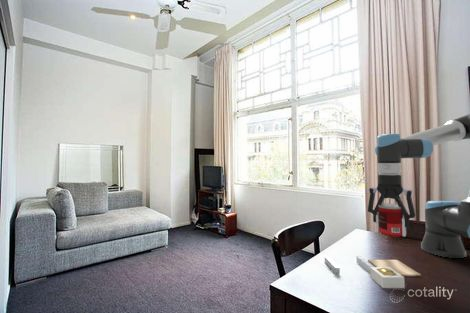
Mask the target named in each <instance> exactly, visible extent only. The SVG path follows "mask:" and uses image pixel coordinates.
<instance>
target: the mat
mask: <svg viewBox="0 0 470 313" xmlns="http://www.w3.org/2000/svg"><path fill="white" fill-rule="evenodd" d="M367 262H368V263H370V264H371V265H372V266H373V267H390V268H392V269H393V270H395V271H396V272H397V273H399V274H400V275H402V276H403V277H421V276H422V273H420V272H417V271H416V270H414V269H413V268H411V267H410V266H407V265H406V264H405V263H403V262H402V261H400V260H398V259H368V260H367Z"/></svg>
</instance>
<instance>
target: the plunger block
mask: <svg viewBox="0 0 470 313" xmlns="http://www.w3.org/2000/svg"><path fill="white" fill-rule="evenodd" d="M380 268H388V269H391V270H392V271H393V272H394V275H383V274H382V273H380ZM369 275H370V276H369V277H370V278H371V279H372V280H373V281H374V282H375V283H377V284H378V285H379V286H380V287H381V288H382V289H405V276H402V275H400V274H399V273H397V272H396V271H395V270H393V269H392V268H390V267H375V266H373V267H370V273H369Z"/></svg>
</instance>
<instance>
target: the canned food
mask: <svg viewBox="0 0 470 313" xmlns="http://www.w3.org/2000/svg"><path fill="white" fill-rule="evenodd" d="M377 214H378V215H379V232H378V233H379V234H381V235H383V236H385V237H392V238H400V237H403V236H402V218H403V217H404V216H403V214H402V212H401V207H399V206H398V204H397V203H387V202H386V203H385V202H383V203H382V204H381V205H378V213H377Z"/></svg>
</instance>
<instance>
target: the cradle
mask: <svg viewBox="0 0 470 313" xmlns="http://www.w3.org/2000/svg"><path fill="white" fill-rule="evenodd" d="M324 263H325V265H326V266H327V267H328V269H330V270H331V271H332V272H333V274H334V275H335V276H341V275H340V273H341V271H340V269H341V268H340V267H339V265H338V264H336V262H334V261H333V259H332V258H330V256H329V255H328V256H327V255H324ZM356 263H357V264H358V265H359V266H360V267H362V269H364V270H365V271H366V272H367V273H369V274H370V267H374V265H372V264H371V263H370V262H368V260H366V259H365V258H363V257H362V256H360V255H356Z"/></svg>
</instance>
